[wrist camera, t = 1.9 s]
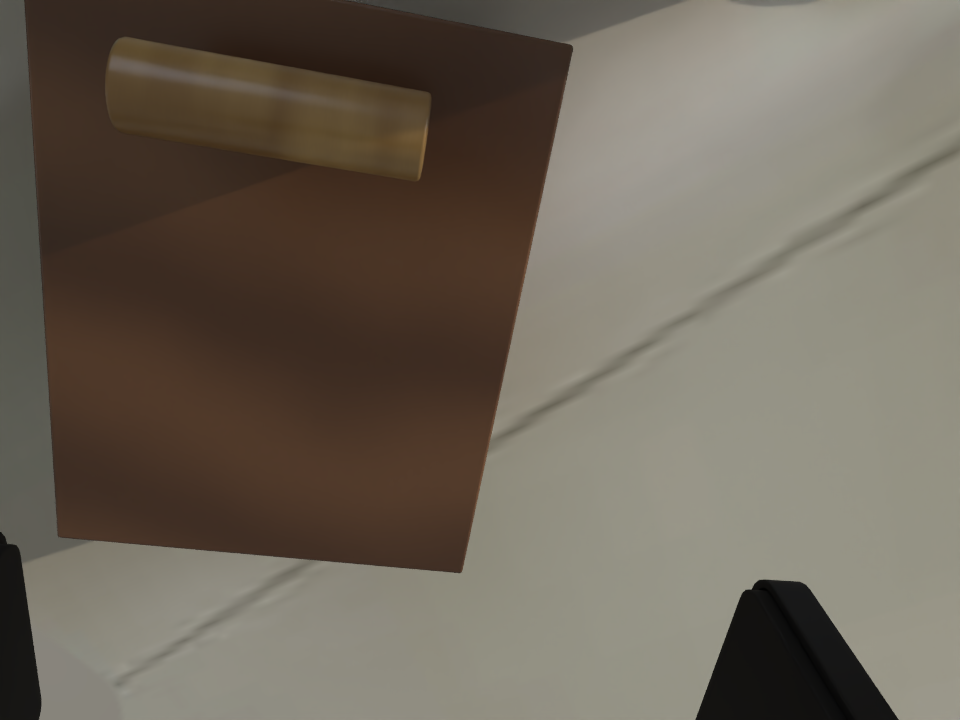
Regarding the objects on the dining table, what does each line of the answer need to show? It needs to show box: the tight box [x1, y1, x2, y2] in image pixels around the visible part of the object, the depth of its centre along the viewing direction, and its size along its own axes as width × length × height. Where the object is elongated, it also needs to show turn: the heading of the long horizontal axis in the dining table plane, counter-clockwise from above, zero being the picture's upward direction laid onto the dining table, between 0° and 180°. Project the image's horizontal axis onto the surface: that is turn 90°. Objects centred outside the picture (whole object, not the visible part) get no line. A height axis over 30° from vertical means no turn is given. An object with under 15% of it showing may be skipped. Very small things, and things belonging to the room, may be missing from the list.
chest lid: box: [24, 0, 573, 573], centre depth 19 cm, size 17×13×5 cm
